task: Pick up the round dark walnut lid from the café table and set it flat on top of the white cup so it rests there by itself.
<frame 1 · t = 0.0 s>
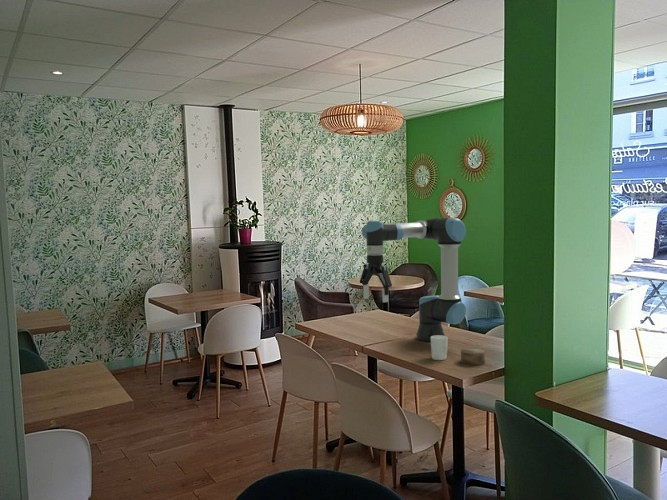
hand: (375, 300, 256), 28 cm above the table, tool pointing down, fingers open, 13 cm apart
walnut lid: (472, 362, 251), on the table
white cup: (439, 358, 258), on the table
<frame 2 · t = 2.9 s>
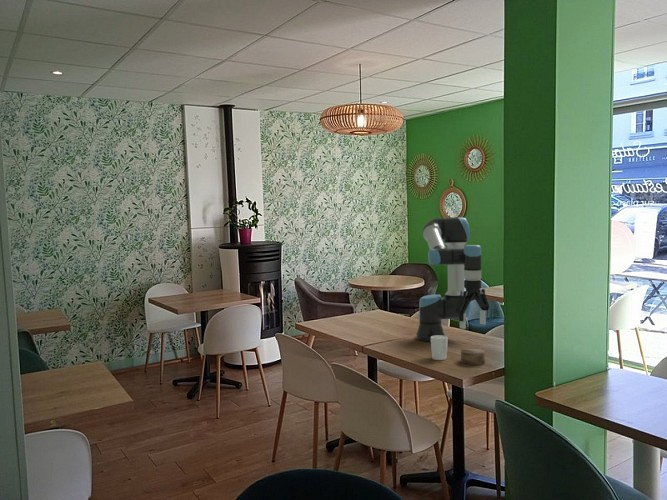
hand: (472, 326, 249), 16 cm above the table, tool pointing down, fingers open, 13 cm apart
nothing on the table moved.
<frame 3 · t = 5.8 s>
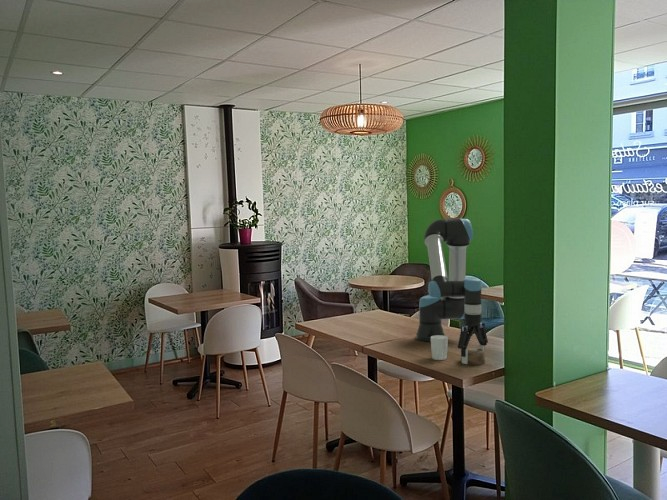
hand: (473, 361, 251), 0 cm above the table, tool pointing down, fingers closed on walnut lid, 10 cm apart
walnut lid: (472, 361, 251), on the table, touching gripper
everything else where it was.
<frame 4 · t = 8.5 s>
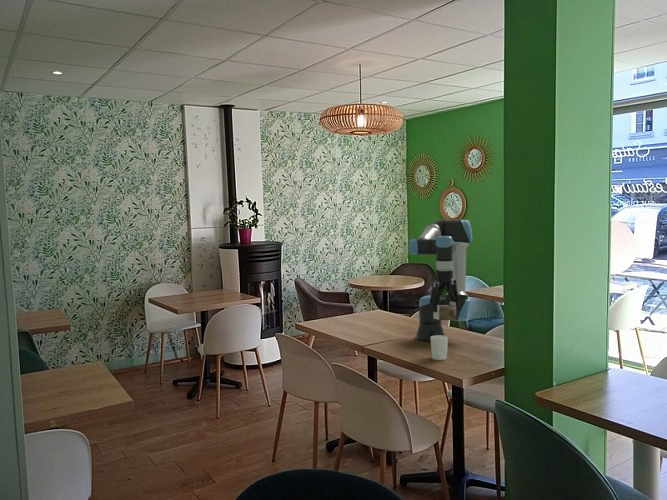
hand: (444, 317, 256), 19 cm above the table, tool pointing down, fingers closed on walnut lid, 10 cm apart
walnut lid: (444, 317, 256), point 19 cm above the table, touching gripper
everything else where it was.
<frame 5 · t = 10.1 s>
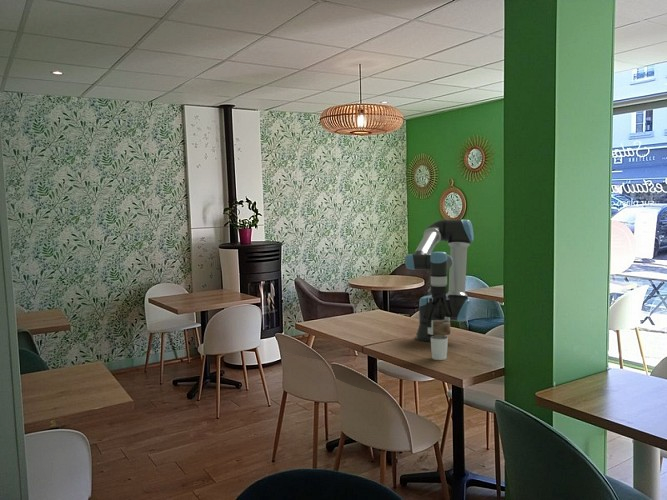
hand: (439, 332, 257), 12 cm above the table, tool pointing down, fingers closed on walnut lid, 10 cm apart
walnut lid: (438, 332, 257), point 12 cm above the table, touching gripper
everything else where it was.
when the fingers open (11 cm above the table, at t = 11.4 s): walnut lid stays where it is, resting on white cup.
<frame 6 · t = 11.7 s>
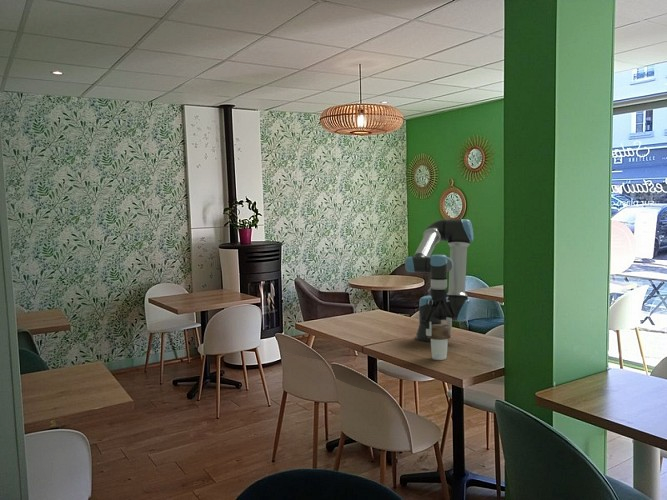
hand: (439, 333, 257), 12 cm above the table, tool pointing down, fingers open, 13 cm apart
walnut lid: (439, 337, 258), point 10 cm above the table, touching white cup
white cup: (439, 358, 258), on the table, touching walnut lid
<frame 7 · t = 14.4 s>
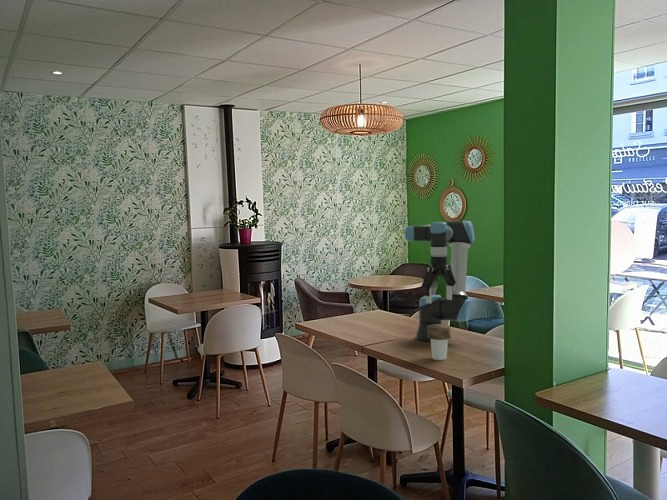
hand: (439, 301, 257), 27 cm above the table, tool pointing down, fingers open, 13 cm apart
nothing on the table moved.
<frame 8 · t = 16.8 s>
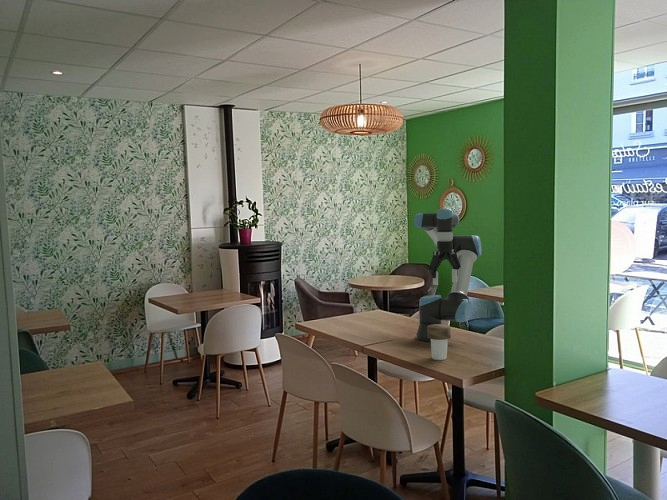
hand: (445, 283, 273), 33 cm above the table, tool pointing down, fingers open, 13 cm apart
nothing on the table moved.
at the end: walnut lid 0.1 cm off-centre on the white cup, point 10.2 cm above the white cup's base; white cup tilted 0°; the gripper is holding nothing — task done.
